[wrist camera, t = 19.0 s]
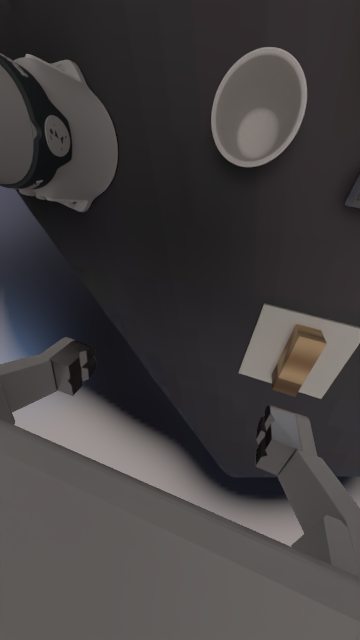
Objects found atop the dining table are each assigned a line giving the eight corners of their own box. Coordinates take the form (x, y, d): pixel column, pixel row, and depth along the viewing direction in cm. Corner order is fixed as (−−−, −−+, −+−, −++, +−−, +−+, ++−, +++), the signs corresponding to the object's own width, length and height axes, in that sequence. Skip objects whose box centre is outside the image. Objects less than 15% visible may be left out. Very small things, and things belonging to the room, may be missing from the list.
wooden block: (296, 323, 39) (299, 336, 35) (321, 330, 38) (326, 343, 34) (271, 374, 45) (272, 389, 41) (292, 381, 44) (295, 396, 41)
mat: (238, 371, 47) (238, 372, 47) (264, 302, 39) (264, 304, 39) (320, 396, 44) (321, 398, 44) (366, 328, 36) (368, 330, 36)
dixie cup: (257, 188, 32) (256, 186, 24) (211, 146, 31) (193, 129, 23) (309, 122, 27) (330, 91, 19) (257, 72, 27) (255, 17, 18)
